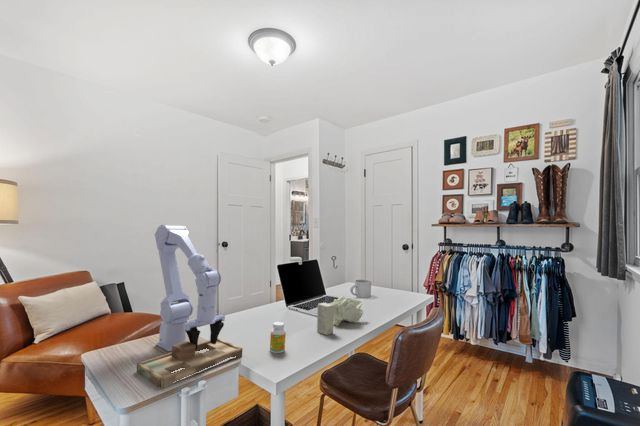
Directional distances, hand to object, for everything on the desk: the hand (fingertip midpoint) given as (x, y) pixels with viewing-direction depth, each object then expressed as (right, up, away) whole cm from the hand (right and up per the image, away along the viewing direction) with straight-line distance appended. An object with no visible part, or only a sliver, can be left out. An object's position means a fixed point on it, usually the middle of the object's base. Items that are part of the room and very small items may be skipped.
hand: (203, 346), depth 103 cm
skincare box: (+42, -7, +29) cm, 51 cm away
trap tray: (-1, -3, -6) cm, 7 cm away
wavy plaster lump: (+52, -8, +45) cm, 69 cm away
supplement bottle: (+24, -5, +7) cm, 26 cm away
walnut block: (-4, -1, -6) cm, 7 cm away
